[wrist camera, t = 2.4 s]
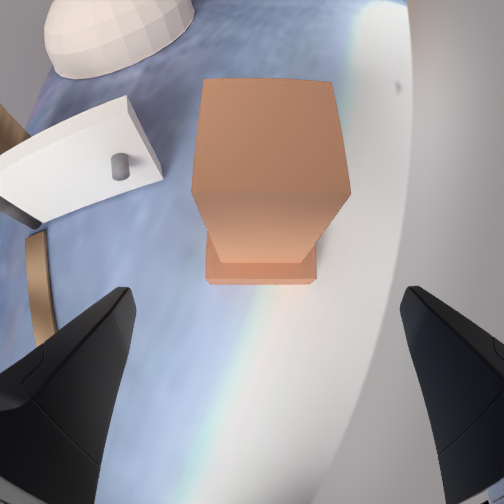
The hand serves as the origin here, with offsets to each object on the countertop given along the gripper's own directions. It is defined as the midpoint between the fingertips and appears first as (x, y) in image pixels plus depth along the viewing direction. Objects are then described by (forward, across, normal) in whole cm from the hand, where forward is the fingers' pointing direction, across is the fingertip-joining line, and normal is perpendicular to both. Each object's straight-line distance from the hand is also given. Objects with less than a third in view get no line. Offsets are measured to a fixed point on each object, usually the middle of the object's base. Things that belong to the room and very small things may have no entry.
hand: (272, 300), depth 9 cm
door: (+14, +13, +2) cm, 20 cm away
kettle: (+34, +18, -16) cm, 41 cm away
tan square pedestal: (+13, 0, +5) cm, 13 cm away
